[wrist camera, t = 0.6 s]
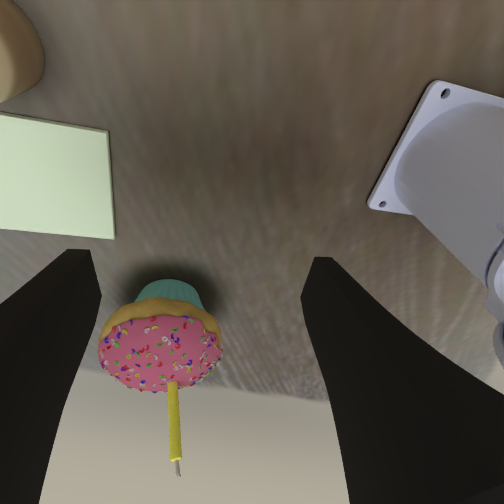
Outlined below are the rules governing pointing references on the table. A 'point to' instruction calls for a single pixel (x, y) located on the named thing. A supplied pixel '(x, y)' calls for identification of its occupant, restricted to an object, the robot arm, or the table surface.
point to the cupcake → (162, 346)
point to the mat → (55, 178)
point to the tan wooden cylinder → (18, 52)
